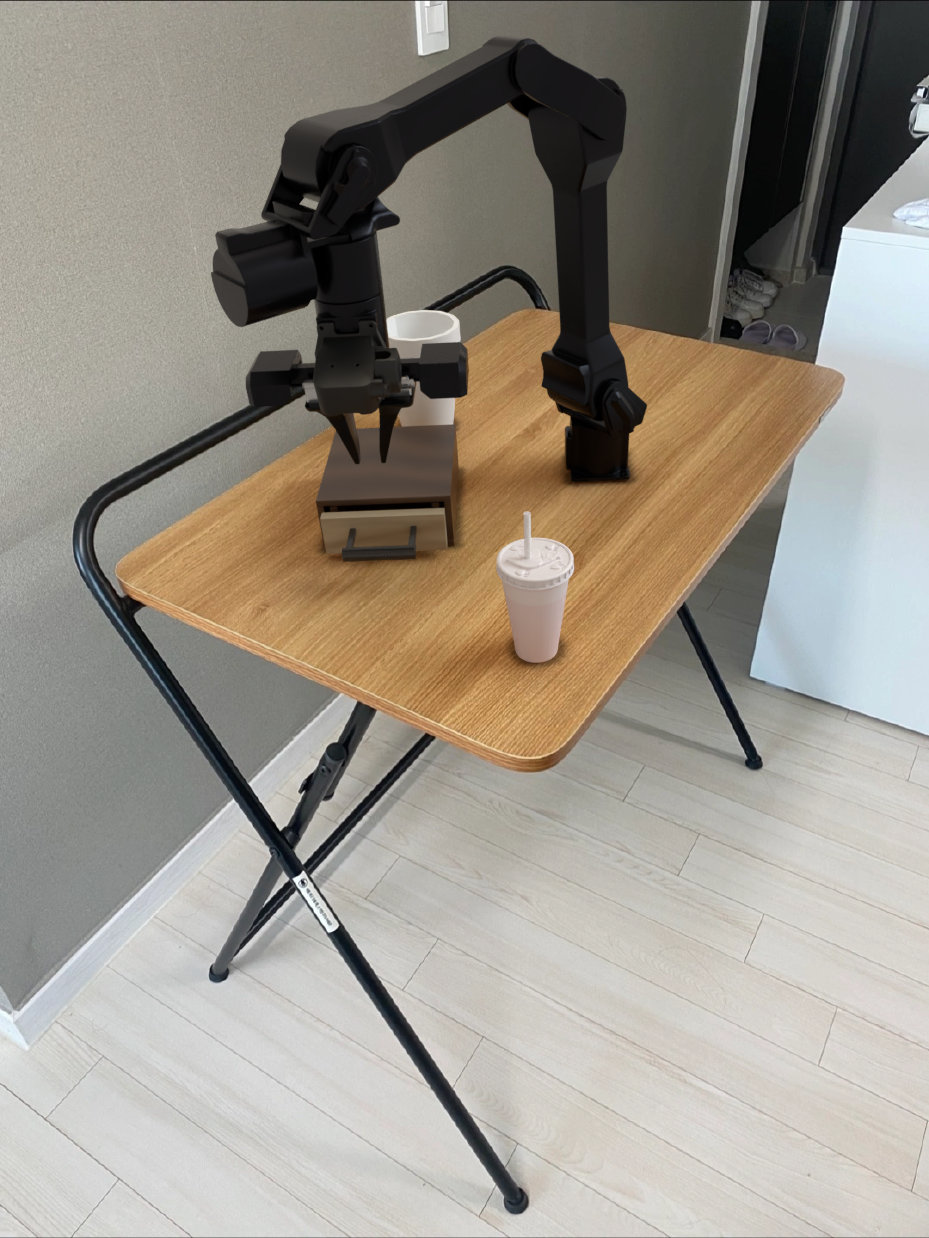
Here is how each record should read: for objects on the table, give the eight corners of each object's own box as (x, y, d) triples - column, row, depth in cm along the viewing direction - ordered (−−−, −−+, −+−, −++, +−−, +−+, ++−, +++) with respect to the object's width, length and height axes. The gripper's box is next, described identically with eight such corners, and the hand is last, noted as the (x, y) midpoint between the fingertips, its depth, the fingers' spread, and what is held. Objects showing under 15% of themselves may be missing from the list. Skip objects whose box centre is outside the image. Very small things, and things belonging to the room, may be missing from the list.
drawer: (445, 578, 92) (441, 542, 89) (319, 583, 93) (312, 546, 90) (452, 477, 107) (449, 443, 105) (344, 482, 108) (338, 448, 105)
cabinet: (454, 545, 98) (450, 495, 94) (324, 550, 99) (315, 501, 95) (459, 470, 110) (455, 424, 106) (343, 475, 111) (335, 429, 107)
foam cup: (438, 451, 114) (429, 346, 106) (375, 435, 118) (362, 333, 110) (479, 418, 120) (474, 316, 112) (418, 404, 124) (409, 305, 116)
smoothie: (496, 630, 87) (489, 495, 78) (566, 622, 87) (567, 488, 78) (504, 676, 82) (498, 538, 73) (579, 668, 82) (581, 530, 73)
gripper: (212, 335, 73) (253, 512, 82) (459, 323, 71) (470, 503, 81) (243, 285, 81) (276, 450, 91) (463, 273, 80) (473, 441, 90)
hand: (371, 461), depth 88 cm, fingers closed
